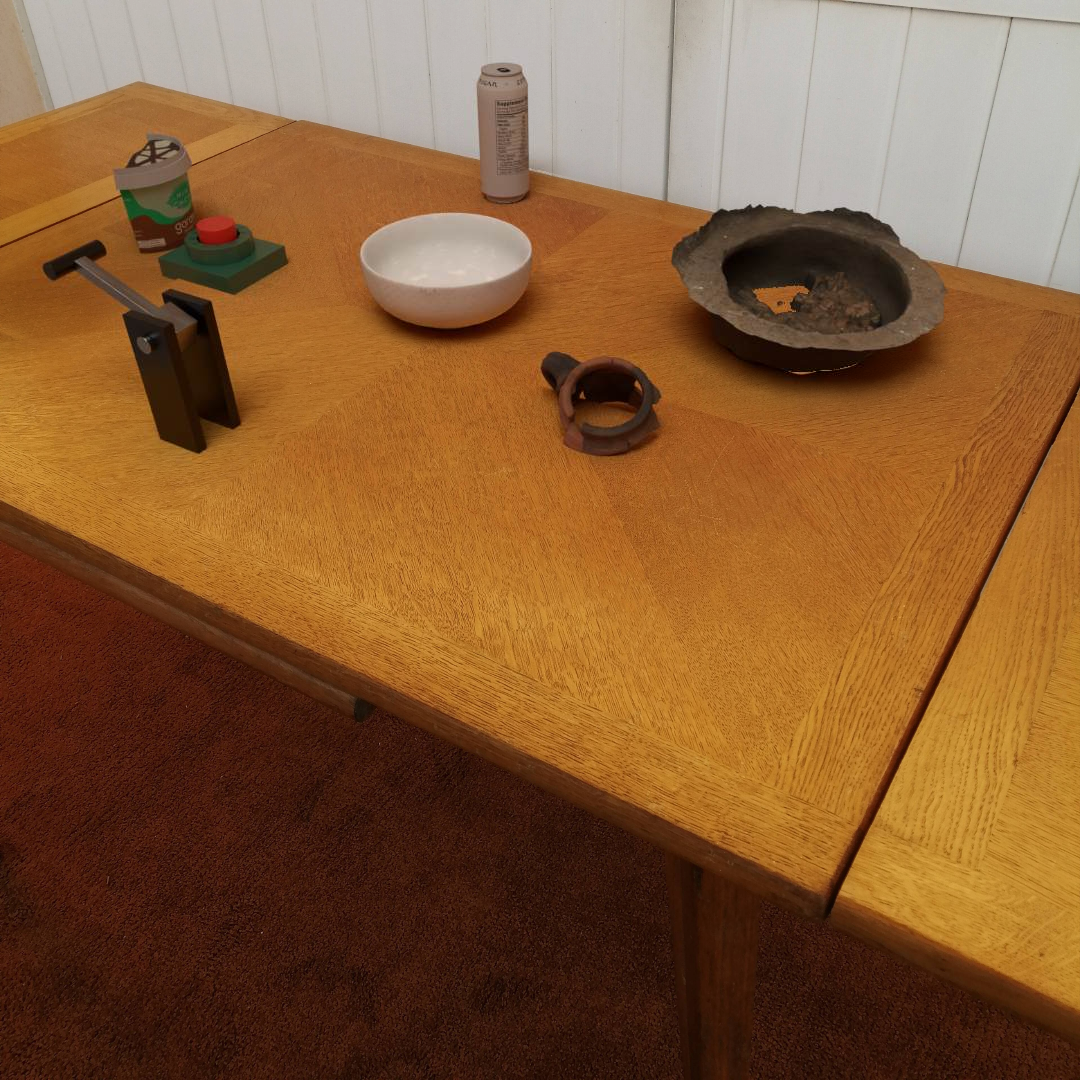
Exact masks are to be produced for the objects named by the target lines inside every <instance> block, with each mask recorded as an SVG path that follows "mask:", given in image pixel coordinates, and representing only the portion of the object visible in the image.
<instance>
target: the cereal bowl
mask: <svg viewBox="0 0 1080 1080" xmlns="http://www.w3.org/2000/svg"><path fill="white" fill-rule="evenodd" d="M359 261H360V268H361V270H362V271H361V273H362V276H363V280H364V282H365V285H366V289H368V293H369V294H370V295H371V297H372V299H373V300H375V302H376V303H377V305H379V306H380V308H382V309H383V310H384V311H385V312H387V313H388V314H389V315H392V316H393V317H395V318H397V319H398V320H401V321H404V322H406V323H409V324H412V325H417V326H421V327H426V328H433V329H438V330H457V329H463V328H467V327H470V326H474V325H479V324H482V323H485V322H488V321H490V320H492V319H495V318H497V317H499V316H502V314H503V313H506V312H507V311H508V310H510V309H512V307H513V306H514V305H515V304H516V303H517V302H518V301H519V300H520V299H521V297H522V296H523V295H524V293H525V291H526V289H527V287H528V285H529V282H530V279H531V275H532V274H531V273H532V268H533V247H532V242H531V240H530V238H529V237H528V236H527V235H526V233H525V232H524V231H523V230H521V229H519V228H518V227H517V226H515V225H514V224H512V223H509V222H508V221H504V220H501V219H499V218H496V217H492V216H487V215H484V214H479V213H469V212H468V213H467V212H434V213H428V214H427V213H426V214H421V215H415V216H410V217H406V218H402V219H400V220H397V221H394V222H391V223H389V224H387V225H384V226H383V227H380V228H379V229H377V230H376V231H374V232H373V233H371V234H370V235H369V236H368V237H367V238H366V239H365V240H364V241H363V243H362V244H361V247H360V250H359Z"/></svg>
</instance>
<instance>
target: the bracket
mask: <svg viewBox="0 0 1080 1080" xmlns="http://www.w3.org/2000/svg"><path fill="white" fill-rule="evenodd" d="M161 297H162V301H163V305H164V304H166V303H168V302H171V303H173V304H174V305H176V306H177V307H179V308H180V309H181V310H183V311H184V312H186V313H187V314H188V315H190V316H191V317H193V318H194V319H196V320H197V336H196V344H195V345H193V346H191V347H190V348H188V349H186V350H185V351H183V352H181V350H180V346H179V343H178V339H177V335H176V332H175V328H174V324H173V323H172V322H169V321H166V320H162V319H159V318H156V317H153V316H150V315H147V314H144V313H141V312H137V311H134V310H130V309H129V310H127V311H126V312H124V313H122V315H121V317H122V319H123V322H124V323H123V324H124V325H125V329H126V333H127V336H128V339H129V342H130V345H131V348H132V349H131V350H132V352H133V355H134V359H135V363H136V366H137V368H138V369H137V370H138V372H139V375H140V378H141V381H142V385H143V388H144V391H145V394H146V399H147V401H148V404H149V408H150V410H151V413H152V417H153V421H154V423H155V427H156V431H157V433H158V437H159V439H160V440H161V441H163V442H165V443H169V444H171V445H174V446H176V447H178V448H179V447H180V448H182V449H184V450H187V451H189V452H192V453H194V454H198V455H200V454H201V453H203V452H204V451H205V450H207V449H208V446H207V442H206V439H205V435H204V432H203V431H204V430H203V428H202V424H201V420H200V419H202V420H205V421H208V422H210V423H213V424H216V425H219V426H222V427H224V428H226V429H230V430H232V431H234V430H235V429H237V428H239V426H241V425H242V422H241V418H240V413H239V409H238V405H237V401H236V398H235V393H234V389H233V385H232V381H231V380H232V379H231V377H230V372H229V368H228V364H227V360H226V355H225V352H224V348H223V343H222V340H221V334H220V331H219V327H218V323H217V322H218V321H217V318H216V315H215V311H214V306H213V305H214V304H213V302H212V300H210V299H206V298H202V297H200V296H197V295H193V294H190V293H187V292H183V291H180V290H177V289H174V288H168V289H166V290H165V291H163V292H162V293H161Z"/></svg>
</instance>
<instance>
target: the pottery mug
mask: <svg viewBox="0 0 1080 1080" xmlns="http://www.w3.org/2000/svg"><path fill="white" fill-rule="evenodd" d="M540 372H541V374H542V376H543V378H544V379H545V381H546V382H547V383H548V385H549V386H550V388H551V389H552V390H553V391H554V392H555V394H556V396H557V398H558V402H557V403H558V411H559V412H558V413H559V419H560V422H561V424H562V427H563V429H564V431H565V435H564V438H563V441H562V444H563V445H565V446H566V447H568V448H569V449H571V450H573V451H575V452H578V453H582V454H585V455H590V456H595V457H603V456H611V455H616V454H620V453H624V452H627V451H629V450H630V445H632V446H637V445H638V444H640V443H641V442H643V440H644V439H645V437H646V436H647V435H649V434H650V433H651V432H652V431H655V430H658V429H660V428H661V425H660V421H659V417H658V415H657V413H656V411H655V409H654V406H653V405H657V404H658V403H659V402H660V400H661V399H662V398H663V397H662V394H661V391H660V390H659V388H658V387H657V386H656V385H655V384H654V383H653V382H652V381H651V380H650V379H649V377H648V376H647V374H646V372H644V370H642V369H641V368H640V367H639V366H638V365H637V366H636V364H635V363H632V362H631V361H629V360H627V359H624V358H622V357H617V356H613V357H612V356H609V355H605V356H604V355H603V356H597V357H592V358H589V359H587V360H585V361H583V362H581V361H580V360H577V359H575V358H574V357H573V356H571V355H569V354H567V353H563V352H561V351H551V352H548V353H547V354H546V356H545V357H544V358H542V361H541V365H540ZM636 382H637V383H638V384H639V386H640V388H639V387H638V386H637V385H636ZM582 393H583V398H584V399H585V400H586V401H590V402H593V403H596V404H599V405H601V404H605V403H623V404H627V405H628V406H630V407H632V408H634V409H635V410H637V411H636V413H635V415H634V416H633V417H632V418H630V419H629V420H627V421H625V422H624V423H622V424H620V425H615V426H607V427H605V426H604V427H603V426H602V427H601V426H597V425H593V424H590V423H588V422H586V421H583V422H582V424H581V425H582V426H579V425H578V424H577V422H576V420H575V419H576V411H575V409H574V406H573V404H574V403H576V402H578V400H579V399H580V397H581V395H582Z"/></svg>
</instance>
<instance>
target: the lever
mask: <svg viewBox="0 0 1080 1080" xmlns="http://www.w3.org/2000/svg"><path fill="white" fill-rule="evenodd" d="M107 254H108V251H107V248H106V246H105V244H104V243H103V242H102V241H100V240H99V239H93V240H91V241H89V242H87V243H85V244H83V245H80V246H78V247H76V248H74V249H72V250H69V251H67V252H65V253H62V254H61V255H58V256H57V257H54V258H52V259H50V260H47V261H46V262H44V263H43V264H42V270H43V273H44V275H45V276H46V277H47V278H48V279H49V280H50V281H52V282H55V281H58V280H60V279H62V278H64V277H66V276H68V275H70V274H72V273H74V272H76V273H78V274H79V275H80V276H82V277H83V278H85V279H86V280H87V281H89V282H90V283H92V284H93V285H94V286H95V287H98V288H99V289H100V290H101V291H103V292H104V293H106V294H107V295H109V296H111V298H113V299H114V300H116V301H117V302H119V303H120V304H121V305H122V306H124V307H126V308H127V309H129V311H130V310H134V311H137V312H141V313H144V314H147V315H150V316H153V317H156V318H159V319H162V320H166V321H169V322H172V323H173V324H174V328H175V332H176V335H177V339H178V343H179V346H180V350H181V352H183V351H185V350H186V349H188V348H190V347H191V346H193V345H195V344H196V336H197V320H196V319H194V318H193V317H191V316H190V315H188V314H187V313H186V312H184V311H183V310H181V309H180V308H179V307H177V306H176V305H174V304H173V303H171V302H168V303H166V304H164V303H163V305H161V306H158V305H156V304H154V303H153V302H151V301H150V300H149V299H148V298H146V297H144V296H143V295H142V294H140V293H139V292H138V291H136V290H135V289H133V288H131V286H129V285H127V284H126V283H125V282H123V281H122V280H120V279H119V278H118V277H116V276H115V275H113V274H112V273H110V272H109V271H108V270H106V269H105V268H103V267H102V266H101V265H99V264H97V263H96V262H97V261H99V260H101V259H103V258H105V257H107Z"/></svg>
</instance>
